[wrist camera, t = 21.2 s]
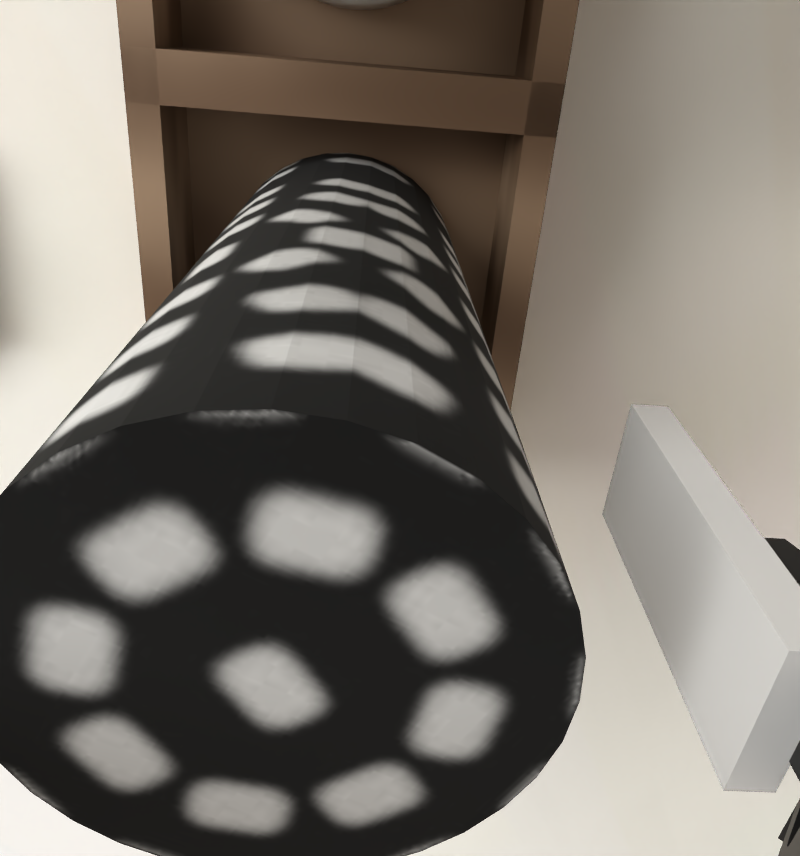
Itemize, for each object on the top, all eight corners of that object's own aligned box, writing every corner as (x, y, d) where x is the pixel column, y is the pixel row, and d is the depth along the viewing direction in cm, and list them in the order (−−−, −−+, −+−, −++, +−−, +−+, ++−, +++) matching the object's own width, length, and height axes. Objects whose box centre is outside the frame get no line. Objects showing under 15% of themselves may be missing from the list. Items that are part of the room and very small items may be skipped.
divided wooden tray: (121, -480, 19) (60, -601, 15) (615, -419, 19) (666, -521, 16) (183, 403, 31) (157, 450, 27) (487, 422, 31) (500, 470, 28)
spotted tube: (186, 226, 26) (-211, 601, 9) (384, 105, 25) (390, 267, 7) (308, 404, 30) (203, 928, 12) (490, 309, 28) (673, 762, 10)
